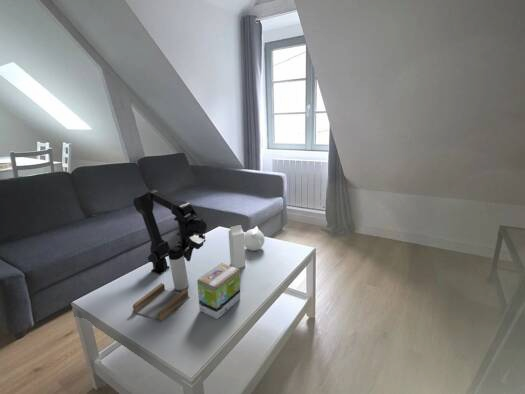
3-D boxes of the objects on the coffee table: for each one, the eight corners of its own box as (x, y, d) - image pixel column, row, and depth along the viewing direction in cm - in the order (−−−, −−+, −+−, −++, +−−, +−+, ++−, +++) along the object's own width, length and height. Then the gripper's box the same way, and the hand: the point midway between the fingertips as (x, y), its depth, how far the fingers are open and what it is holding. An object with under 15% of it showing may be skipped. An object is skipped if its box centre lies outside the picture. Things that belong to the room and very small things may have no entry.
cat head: (244, 243, 171) (244, 224, 167) (266, 243, 169) (265, 225, 165) (239, 255, 157) (238, 234, 153) (262, 256, 155) (262, 235, 151)
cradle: (132, 311, 114) (131, 304, 113) (160, 289, 128) (159, 282, 127) (163, 322, 108) (162, 314, 107) (189, 297, 122) (188, 290, 121)
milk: (230, 264, 148) (227, 225, 141) (241, 261, 150) (239, 222, 144) (234, 269, 142) (232, 229, 136) (245, 266, 145) (243, 226, 138)
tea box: (218, 320, 108) (215, 287, 104) (199, 311, 113) (195, 279, 109) (241, 298, 120) (239, 268, 116) (223, 291, 126) (221, 261, 121)
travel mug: (191, 283, 131) (185, 246, 123) (183, 292, 125) (176, 254, 118) (180, 280, 133) (173, 244, 125) (171, 289, 127) (164, 252, 120)
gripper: (187, 241, 116) (190, 274, 121) (211, 224, 132) (214, 254, 137) (165, 237, 120) (170, 269, 125) (192, 221, 137) (195, 250, 141)
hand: (188, 260), depth 132 cm, fingers closed
